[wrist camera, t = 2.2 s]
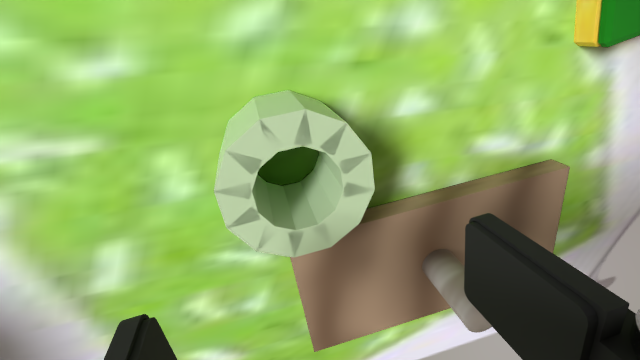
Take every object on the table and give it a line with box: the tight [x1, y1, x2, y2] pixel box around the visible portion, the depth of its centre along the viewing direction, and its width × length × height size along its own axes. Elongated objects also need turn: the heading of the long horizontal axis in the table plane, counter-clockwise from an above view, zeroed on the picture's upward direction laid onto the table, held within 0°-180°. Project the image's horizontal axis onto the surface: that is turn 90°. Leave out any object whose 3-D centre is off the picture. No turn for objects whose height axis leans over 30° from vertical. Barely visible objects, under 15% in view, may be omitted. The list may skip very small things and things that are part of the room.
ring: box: [214, 90, 375, 257], centre depth 17 cm, size 7×7×5 cm
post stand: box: [290, 159, 570, 352], centre depth 22 cm, size 20×10×6 cm, turn 100°
